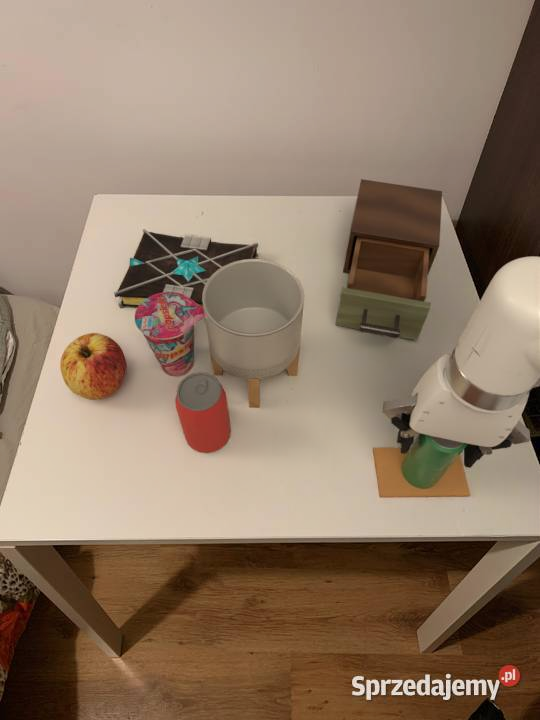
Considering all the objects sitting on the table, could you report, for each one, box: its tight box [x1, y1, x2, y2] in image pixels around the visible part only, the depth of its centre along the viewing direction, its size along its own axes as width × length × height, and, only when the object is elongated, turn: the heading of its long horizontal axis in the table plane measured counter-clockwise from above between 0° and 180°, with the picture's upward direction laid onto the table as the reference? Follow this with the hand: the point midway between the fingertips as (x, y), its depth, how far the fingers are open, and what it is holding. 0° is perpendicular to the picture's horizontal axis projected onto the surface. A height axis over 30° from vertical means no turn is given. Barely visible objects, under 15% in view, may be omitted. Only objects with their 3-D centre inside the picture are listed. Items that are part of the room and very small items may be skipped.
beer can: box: [174, 371, 232, 454], centre depth 66 cm, size 7×7×12 cm
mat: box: [372, 446, 471, 499], centre depth 67 cm, size 12×7×1 cm, turn 91°
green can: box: [401, 433, 468, 489], centre depth 62 cm, size 5×5×12 cm
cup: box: [134, 292, 205, 377], centre depth 73 cm, size 9×8×12 cm
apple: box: [59, 332, 128, 400], centre depth 71 cm, size 9×9×10 cm
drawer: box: [335, 237, 432, 341], centre depth 80 cm, size 18×13×8 cm
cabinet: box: [342, 178, 443, 275], centre depth 88 cm, size 15×15×10 cm
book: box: [113, 228, 259, 309], centre depth 86 cm, size 22×17×5 cm
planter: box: [202, 258, 305, 409], centre depth 69 cm, size 13×13×18 cm
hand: (435, 449), depth 61 cm, fingers open, 7 cm apart
